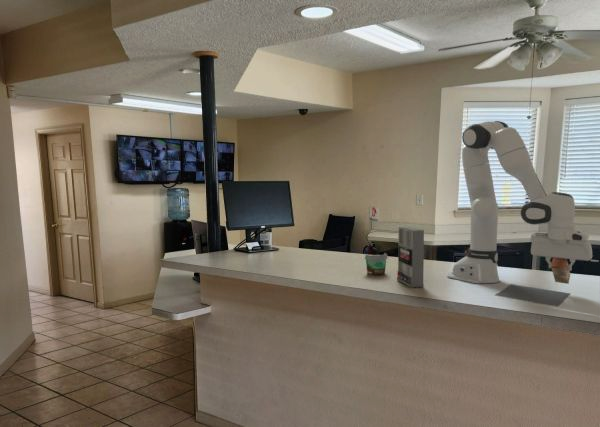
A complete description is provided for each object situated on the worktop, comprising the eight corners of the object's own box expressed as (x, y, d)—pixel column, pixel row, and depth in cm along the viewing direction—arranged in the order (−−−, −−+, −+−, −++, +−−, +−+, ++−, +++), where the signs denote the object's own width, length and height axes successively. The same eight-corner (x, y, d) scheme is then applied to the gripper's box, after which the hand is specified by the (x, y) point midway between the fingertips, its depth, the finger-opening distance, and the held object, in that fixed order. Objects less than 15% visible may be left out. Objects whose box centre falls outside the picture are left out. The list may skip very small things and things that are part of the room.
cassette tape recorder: (396, 280, 190) (396, 227, 188) (408, 279, 192) (408, 226, 189) (410, 288, 177) (411, 230, 175) (423, 287, 178) (424, 230, 176)
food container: (371, 277, 197) (371, 256, 196) (364, 274, 202) (364, 254, 202) (392, 274, 202) (392, 254, 201) (385, 272, 207) (385, 252, 207)
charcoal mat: (494, 296, 163) (494, 295, 163) (511, 285, 179) (511, 284, 179) (558, 307, 148) (558, 306, 148) (570, 294, 164) (570, 293, 164)
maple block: (555, 282, 165) (551, 266, 158) (557, 272, 167) (553, 256, 160) (568, 283, 162) (564, 267, 155) (570, 274, 164) (566, 258, 157)
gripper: (528, 233, 164) (528, 267, 165) (590, 236, 149) (589, 274, 151) (533, 231, 168) (532, 264, 169) (593, 235, 154) (592, 271, 155)
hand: (559, 269), depth 160 cm, fingers closed on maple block, 4 cm apart
